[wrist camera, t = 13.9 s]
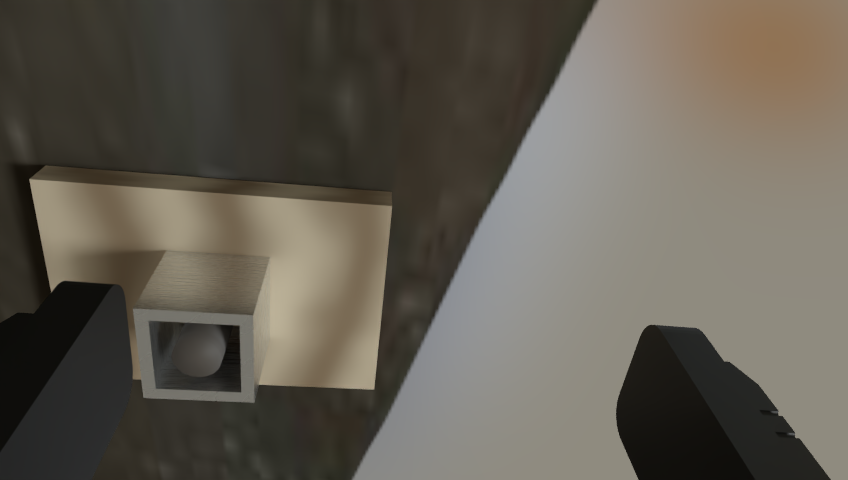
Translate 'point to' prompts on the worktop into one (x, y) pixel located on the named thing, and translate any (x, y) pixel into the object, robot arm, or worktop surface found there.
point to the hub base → (238, 235)
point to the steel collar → (209, 304)
